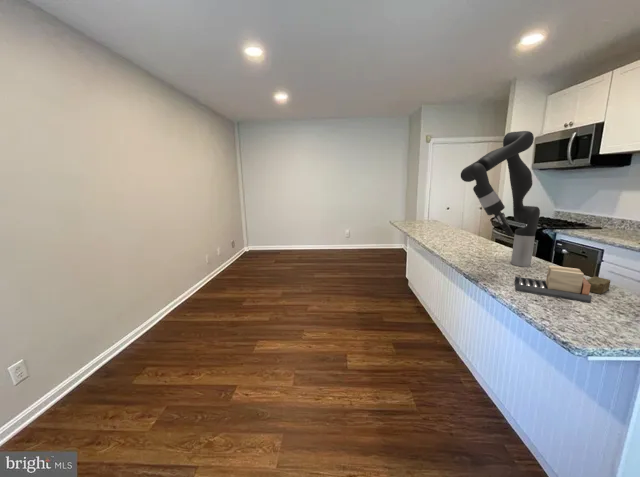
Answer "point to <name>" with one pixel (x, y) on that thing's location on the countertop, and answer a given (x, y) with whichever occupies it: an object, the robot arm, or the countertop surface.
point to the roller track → (542, 289)
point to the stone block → (599, 285)
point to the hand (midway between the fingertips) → (510, 234)
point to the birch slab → (564, 279)
